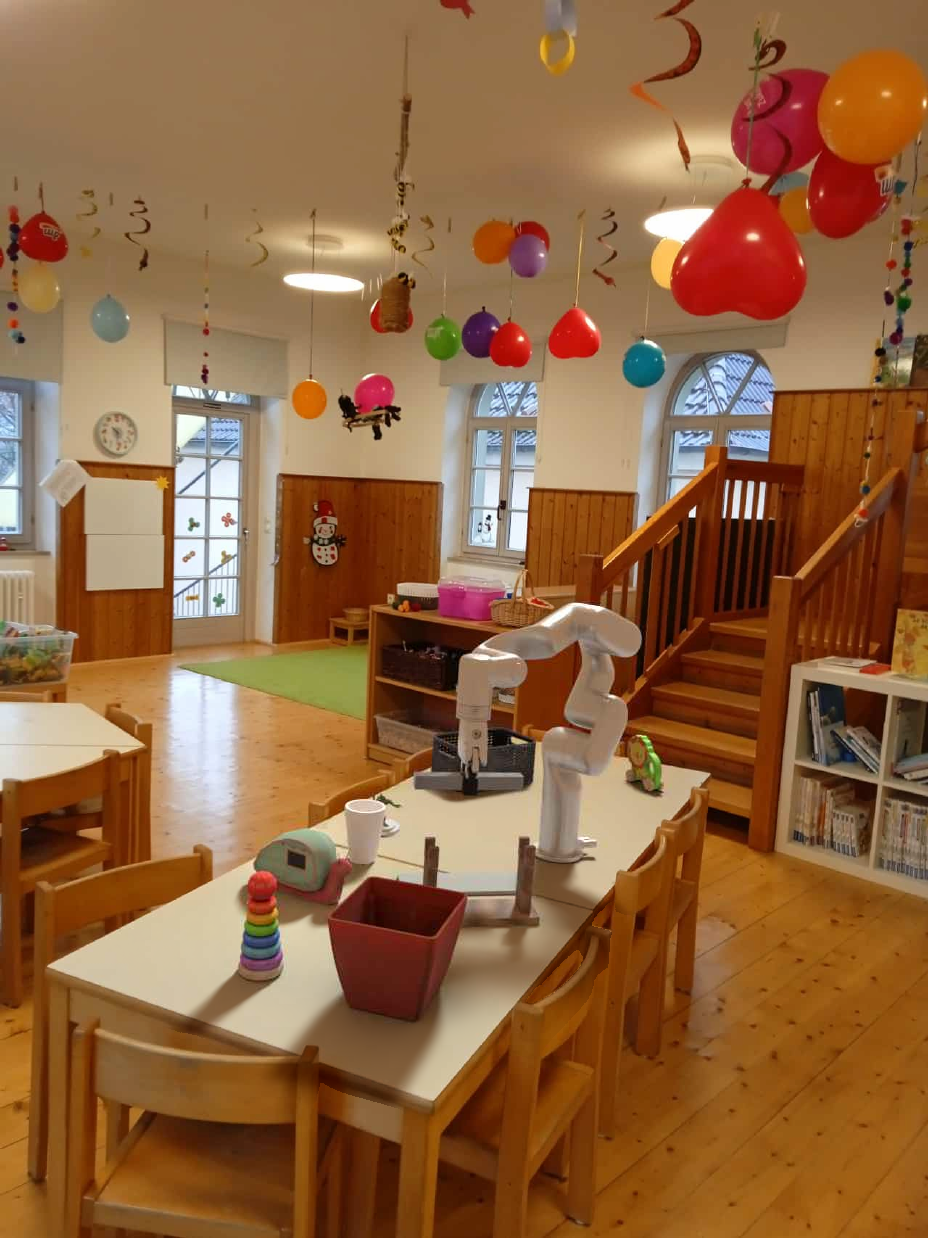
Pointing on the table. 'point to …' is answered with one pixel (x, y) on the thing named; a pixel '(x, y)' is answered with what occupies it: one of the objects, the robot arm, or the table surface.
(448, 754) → the storage bin
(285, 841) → the toy snail
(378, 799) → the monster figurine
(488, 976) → the table surface
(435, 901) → the plant pot
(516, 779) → the rail
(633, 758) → the toy lion
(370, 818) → the foam cup
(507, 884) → the mat
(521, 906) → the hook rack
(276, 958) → the stacking toy
